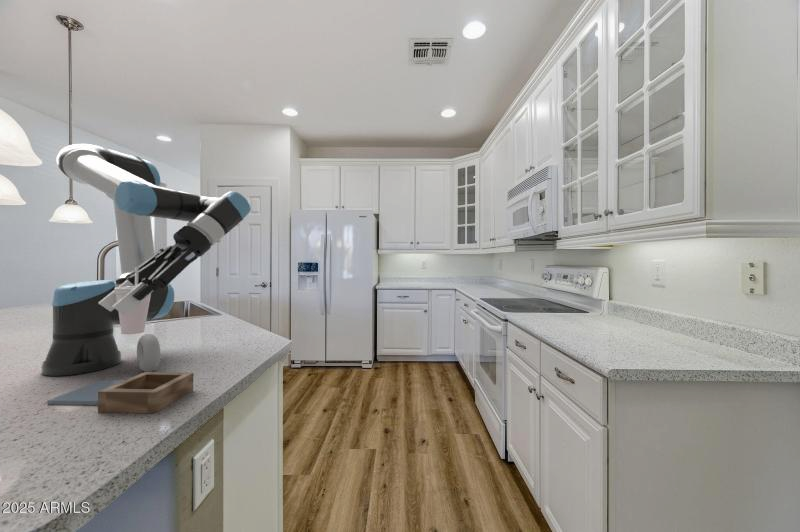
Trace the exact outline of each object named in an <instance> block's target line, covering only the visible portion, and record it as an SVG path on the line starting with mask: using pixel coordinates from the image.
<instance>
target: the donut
mask: <svg viewBox="0 0 800 532" xmlns="http://www.w3.org/2000/svg"><path fill="white" fill-rule="evenodd" d="M136 358H137V363H138V367H139V368H140V370H141V371H143V373H144V372H155V370H156V369H157V368H158V367H159V365H160V363H161V345H160V341H159V340H158V338H157V337H156V335H155V334H152V333H146V334H143V335H142V336H141V337H139V339H138V341H137V345H136Z"/></svg>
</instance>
